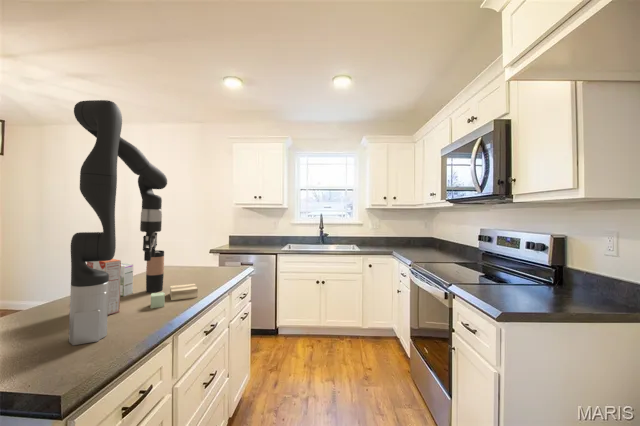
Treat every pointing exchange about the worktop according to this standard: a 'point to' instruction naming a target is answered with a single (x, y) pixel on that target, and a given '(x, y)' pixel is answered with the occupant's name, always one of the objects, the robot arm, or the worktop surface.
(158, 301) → the cube
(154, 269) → the travel mug
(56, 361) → the worktop surface
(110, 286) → the cracker box
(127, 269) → the syrup box
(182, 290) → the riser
